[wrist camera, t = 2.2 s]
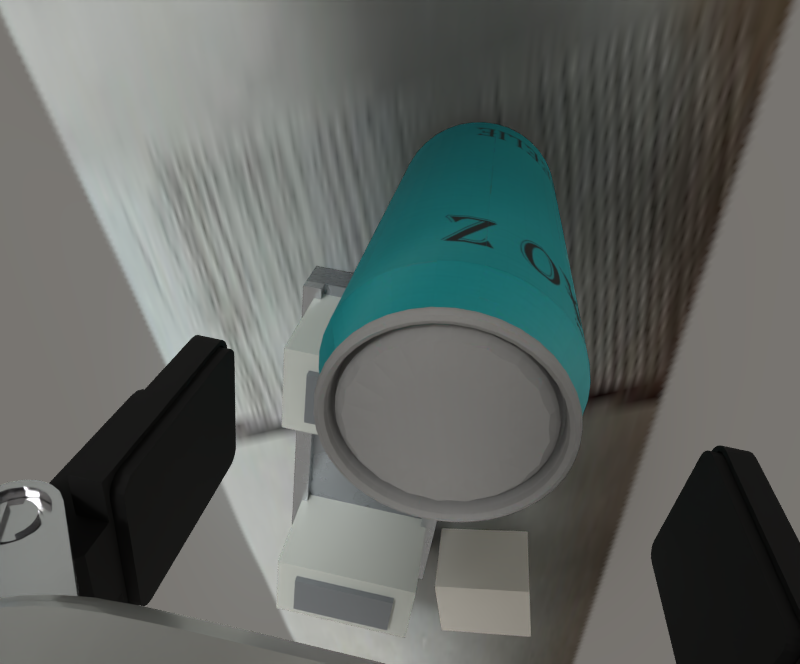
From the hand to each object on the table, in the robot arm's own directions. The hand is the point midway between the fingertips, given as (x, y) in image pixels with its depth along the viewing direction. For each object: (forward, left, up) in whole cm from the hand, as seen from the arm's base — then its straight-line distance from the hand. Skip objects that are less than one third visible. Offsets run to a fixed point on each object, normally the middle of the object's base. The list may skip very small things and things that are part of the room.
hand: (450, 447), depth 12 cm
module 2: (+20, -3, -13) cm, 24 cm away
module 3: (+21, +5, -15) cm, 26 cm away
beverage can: (-1, 0, -15) cm, 15 cm away
